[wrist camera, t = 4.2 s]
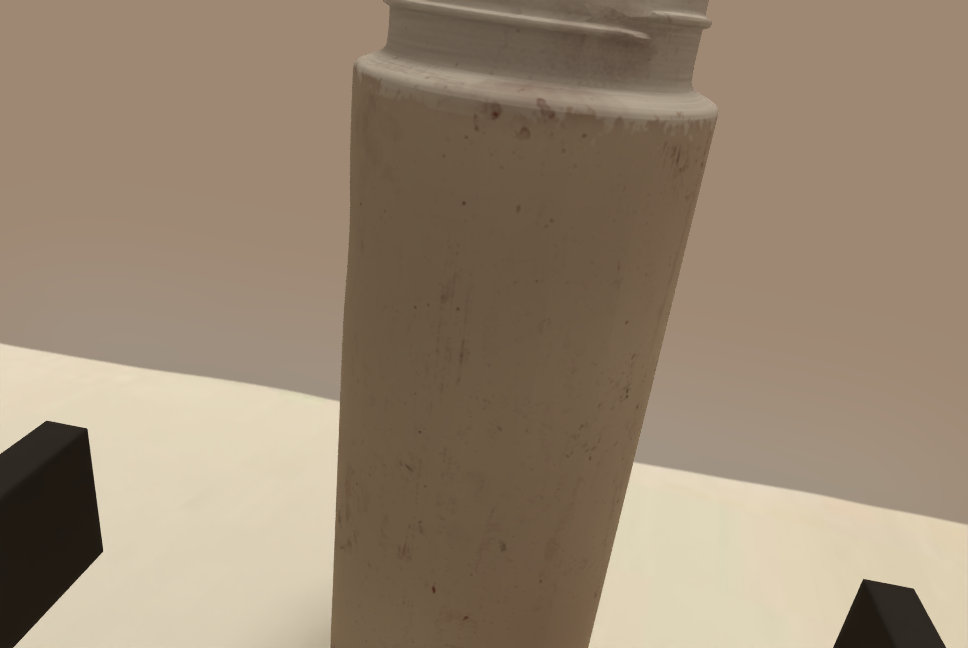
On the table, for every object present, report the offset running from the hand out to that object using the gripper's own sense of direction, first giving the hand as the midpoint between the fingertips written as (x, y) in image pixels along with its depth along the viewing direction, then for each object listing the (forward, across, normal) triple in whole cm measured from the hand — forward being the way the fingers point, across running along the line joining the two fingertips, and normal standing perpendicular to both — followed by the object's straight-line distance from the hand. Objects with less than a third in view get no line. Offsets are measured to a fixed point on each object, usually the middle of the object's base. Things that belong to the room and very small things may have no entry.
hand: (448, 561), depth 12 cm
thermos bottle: (+7, 0, -15) cm, 17 cm away
